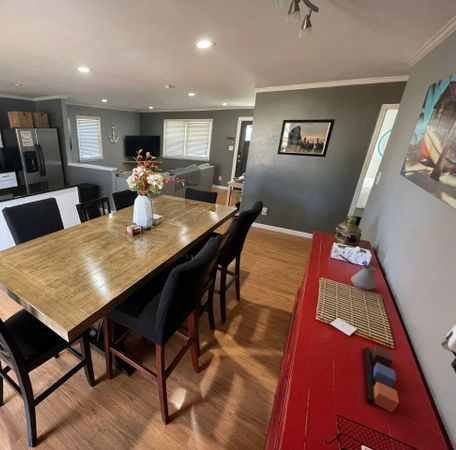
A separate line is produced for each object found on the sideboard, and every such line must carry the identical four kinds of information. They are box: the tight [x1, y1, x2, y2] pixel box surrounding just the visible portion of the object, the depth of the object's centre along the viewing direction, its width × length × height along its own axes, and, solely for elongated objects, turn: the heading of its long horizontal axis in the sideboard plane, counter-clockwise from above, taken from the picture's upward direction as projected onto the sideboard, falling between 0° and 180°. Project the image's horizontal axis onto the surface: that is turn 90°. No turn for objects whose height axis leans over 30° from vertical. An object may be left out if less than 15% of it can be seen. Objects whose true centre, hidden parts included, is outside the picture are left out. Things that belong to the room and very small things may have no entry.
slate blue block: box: [372, 362, 397, 389], centre depth 87 cm, size 5×5×5 cm
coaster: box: [329, 317, 358, 336], centre depth 111 cm, size 8×8×1 cm
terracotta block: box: [373, 382, 399, 413], centre depth 80 cm, size 5×5×5 cm
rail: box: [363, 346, 375, 406], centre depth 89 cm, size 2×26×2 cm, turn 143°
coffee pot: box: [337, 253, 378, 291], centre depth 142 cm, size 21×12×15 cm, turn 42°
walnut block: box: [370, 345, 394, 369], centre depth 94 cm, size 5×5×5 cm
